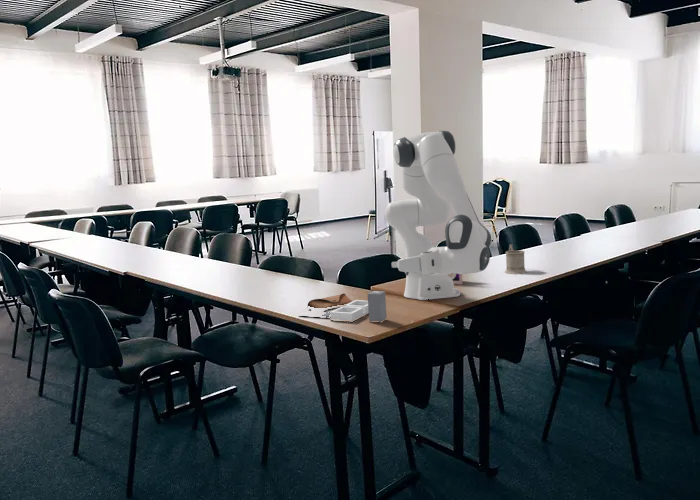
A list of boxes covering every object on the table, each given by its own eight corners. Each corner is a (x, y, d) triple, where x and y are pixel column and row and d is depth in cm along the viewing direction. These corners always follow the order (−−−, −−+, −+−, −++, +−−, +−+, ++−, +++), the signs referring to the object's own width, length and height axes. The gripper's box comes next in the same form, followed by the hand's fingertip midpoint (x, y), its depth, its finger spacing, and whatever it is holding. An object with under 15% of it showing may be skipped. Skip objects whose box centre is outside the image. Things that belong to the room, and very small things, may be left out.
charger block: (375, 318, 198) (373, 290, 197) (386, 319, 196) (385, 290, 194) (369, 322, 194) (367, 293, 193) (381, 323, 192) (379, 293, 191)
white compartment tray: (358, 306, 217) (357, 298, 217) (379, 308, 213) (378, 299, 212) (330, 321, 199) (329, 312, 199) (352, 322, 195) (352, 313, 194)
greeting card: (436, 283, 250) (434, 250, 248) (441, 280, 257) (439, 247, 255) (461, 284, 245) (460, 250, 243) (466, 281, 252) (464, 247, 250)
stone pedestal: (529, 273, 260) (528, 247, 258) (507, 274, 260) (506, 248, 258) (520, 268, 274) (519, 243, 272) (500, 269, 274) (499, 244, 273)
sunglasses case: (319, 312, 212) (313, 296, 214) (311, 319, 217) (305, 303, 219) (357, 303, 222) (351, 288, 224) (349, 310, 228) (343, 295, 230)
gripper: (451, 248, 187) (414, 251, 195) (422, 253, 170) (383, 256, 178) (452, 267, 187) (415, 269, 195) (424, 274, 171) (385, 276, 179)
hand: (399, 263), depth 187 cm, fingers open, 8 cm apart
